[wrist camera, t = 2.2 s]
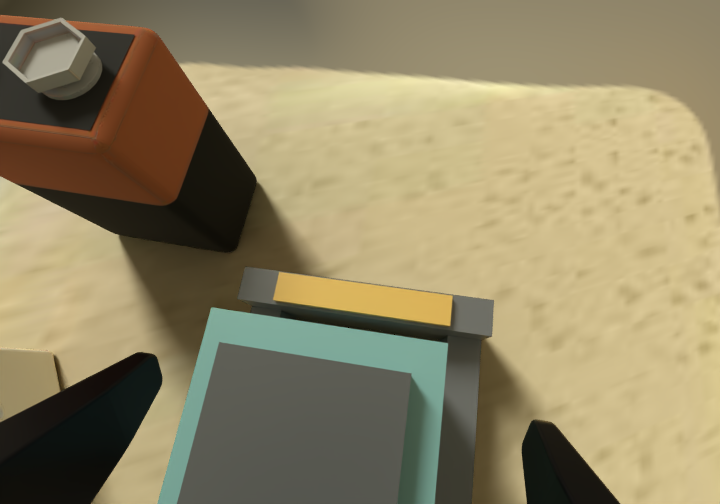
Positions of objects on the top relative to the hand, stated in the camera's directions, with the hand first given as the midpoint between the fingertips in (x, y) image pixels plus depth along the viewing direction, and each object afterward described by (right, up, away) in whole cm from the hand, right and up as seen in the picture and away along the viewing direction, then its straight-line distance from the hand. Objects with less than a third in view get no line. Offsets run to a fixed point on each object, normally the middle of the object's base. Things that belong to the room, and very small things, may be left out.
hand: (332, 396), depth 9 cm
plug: (0, -3, +7) cm, 7 cm away
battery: (-8, +6, +11) cm, 15 cm away
